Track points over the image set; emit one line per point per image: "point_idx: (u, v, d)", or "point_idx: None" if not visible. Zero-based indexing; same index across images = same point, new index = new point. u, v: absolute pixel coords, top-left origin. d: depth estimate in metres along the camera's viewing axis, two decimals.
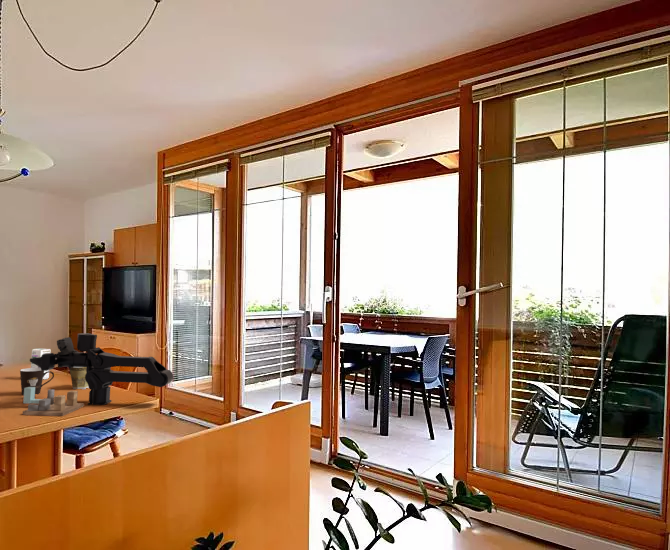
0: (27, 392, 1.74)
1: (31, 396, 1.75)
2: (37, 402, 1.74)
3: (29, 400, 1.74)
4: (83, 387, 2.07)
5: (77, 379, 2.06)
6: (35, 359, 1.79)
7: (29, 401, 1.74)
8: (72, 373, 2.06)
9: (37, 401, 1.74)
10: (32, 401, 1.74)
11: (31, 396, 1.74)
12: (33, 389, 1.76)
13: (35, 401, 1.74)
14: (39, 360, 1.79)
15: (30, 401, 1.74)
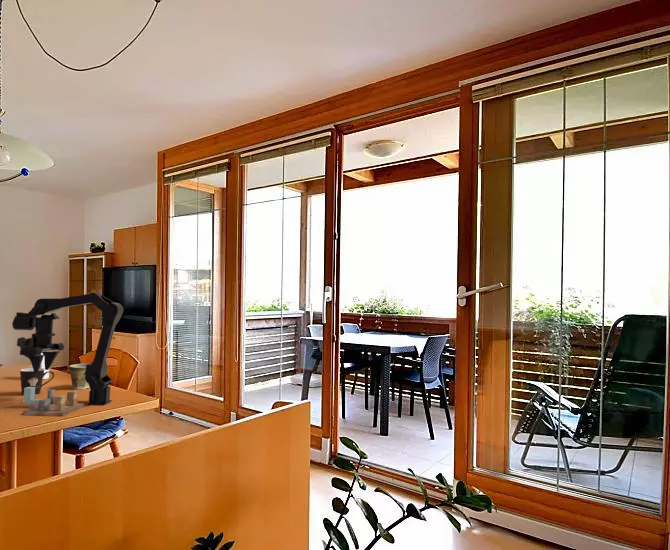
0: (27, 392, 1.74)
1: (31, 396, 1.75)
2: (37, 402, 1.74)
3: (29, 400, 1.74)
4: (83, 387, 2.07)
5: (77, 379, 2.06)
6: (33, 365, 1.78)
7: (29, 401, 1.74)
8: (72, 373, 2.06)
9: (37, 401, 1.74)
10: (32, 401, 1.74)
11: (31, 396, 1.74)
12: (33, 389, 1.76)
13: (35, 401, 1.74)
14: (34, 361, 1.78)
15: (30, 401, 1.74)
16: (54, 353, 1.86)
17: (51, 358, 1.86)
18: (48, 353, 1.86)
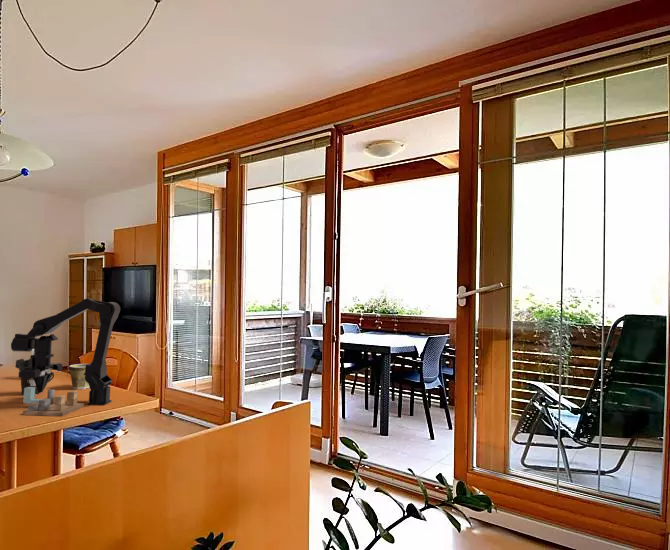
0: (27, 392, 1.74)
1: (31, 396, 1.75)
2: (37, 402, 1.74)
3: (29, 400, 1.74)
4: (83, 387, 2.07)
5: (77, 379, 2.06)
6: (37, 386, 1.81)
7: (29, 401, 1.74)
8: (72, 373, 2.06)
9: (37, 401, 1.74)
10: (32, 401, 1.74)
11: (31, 396, 1.74)
12: (33, 389, 1.76)
13: (35, 401, 1.74)
14: (38, 381, 1.81)
15: (30, 401, 1.74)
16: (48, 375, 1.83)
17: None
18: None
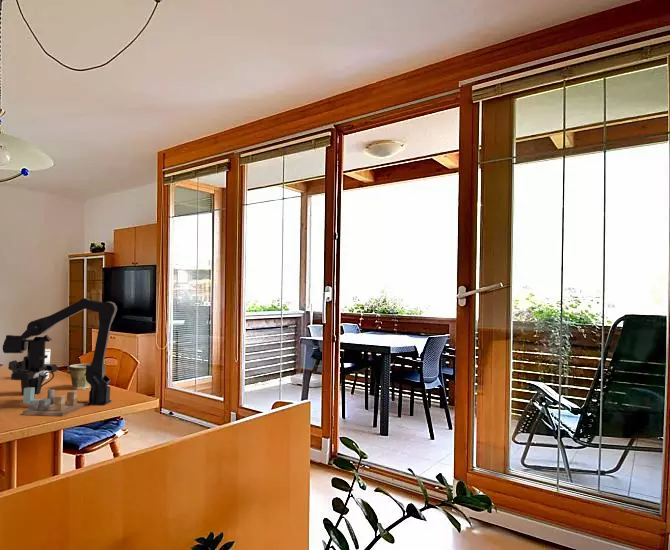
0: (26, 393, 1.74)
1: (31, 396, 1.75)
2: (37, 402, 1.74)
3: (29, 400, 1.74)
4: (83, 387, 2.07)
5: (77, 379, 2.06)
6: None
7: (29, 401, 1.74)
8: (72, 373, 2.06)
9: (37, 401, 1.74)
10: (32, 401, 1.74)
11: (30, 396, 1.74)
12: (33, 389, 1.76)
13: (35, 401, 1.74)
14: (32, 383, 1.77)
15: (30, 401, 1.74)
16: (42, 377, 1.79)
17: None
18: None
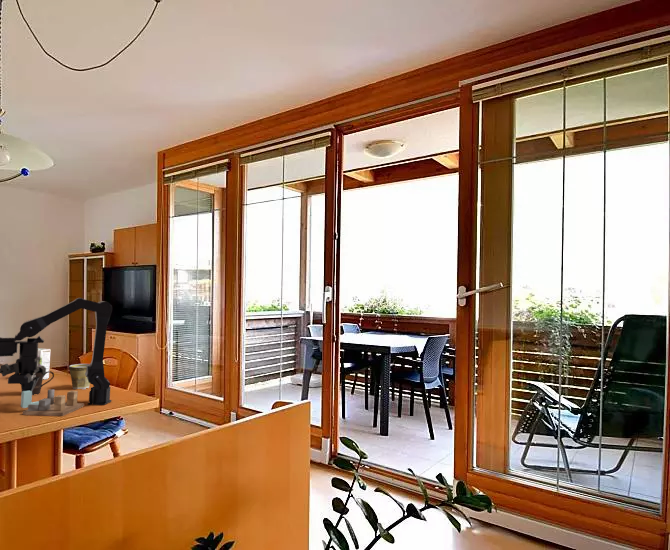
0: (27, 396, 1.68)
1: None
2: (38, 404, 1.71)
3: None
4: (83, 387, 2.07)
5: (77, 379, 2.06)
6: None
7: None
8: (72, 373, 2.06)
9: (38, 403, 1.71)
10: (32, 404, 1.70)
11: None
12: None
13: (36, 403, 1.71)
14: (25, 386, 1.71)
15: None
16: None
17: None
18: None
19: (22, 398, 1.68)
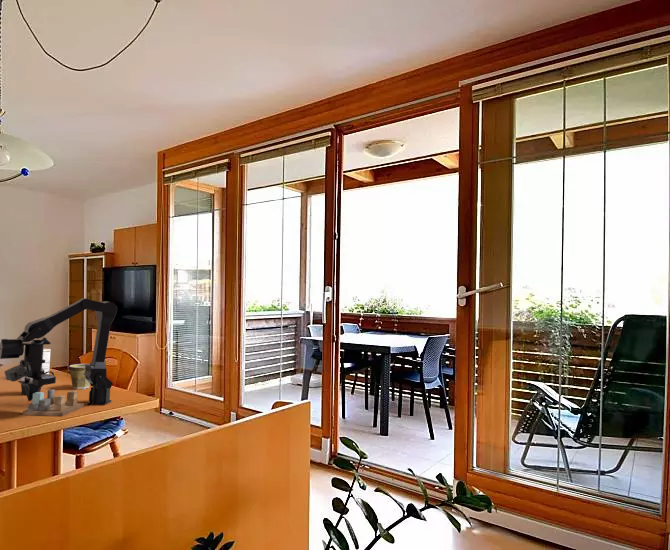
0: (41, 397, 1.67)
1: None
2: None
3: None
4: (83, 387, 2.07)
5: (77, 379, 2.06)
6: (30, 393, 1.67)
7: None
8: (72, 373, 2.06)
9: None
10: None
11: None
12: None
13: None
14: (32, 389, 1.68)
15: None
16: None
17: None
18: None
19: (36, 400, 1.66)
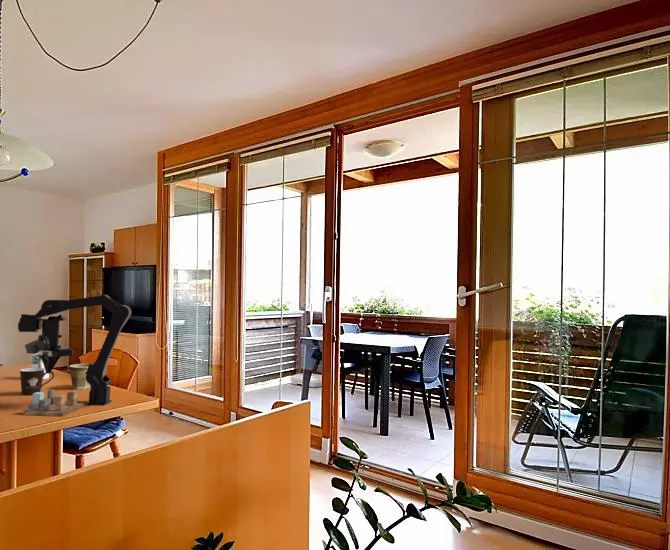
0: (41, 397, 1.67)
1: None
2: None
3: None
4: (83, 387, 2.07)
5: (77, 379, 2.06)
6: (49, 366, 1.79)
7: None
8: (72, 373, 2.06)
9: None
10: None
11: None
12: None
13: None
14: (51, 362, 1.80)
15: None
16: None
17: None
18: None
19: (36, 400, 1.66)
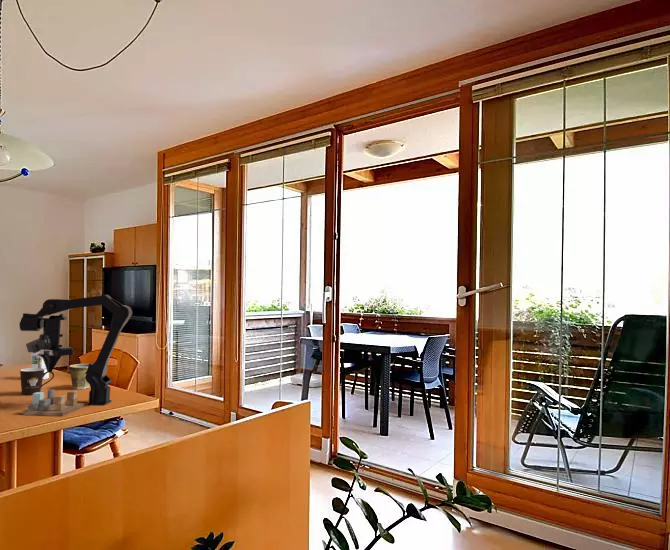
0: (41, 397, 1.67)
1: None
2: None
3: None
4: (83, 387, 2.07)
5: (77, 379, 2.06)
6: (50, 365, 1.80)
7: None
8: (72, 373, 2.06)
9: None
10: None
11: None
12: None
13: None
14: (52, 361, 1.80)
15: None
16: None
17: None
18: None
19: (36, 400, 1.66)
